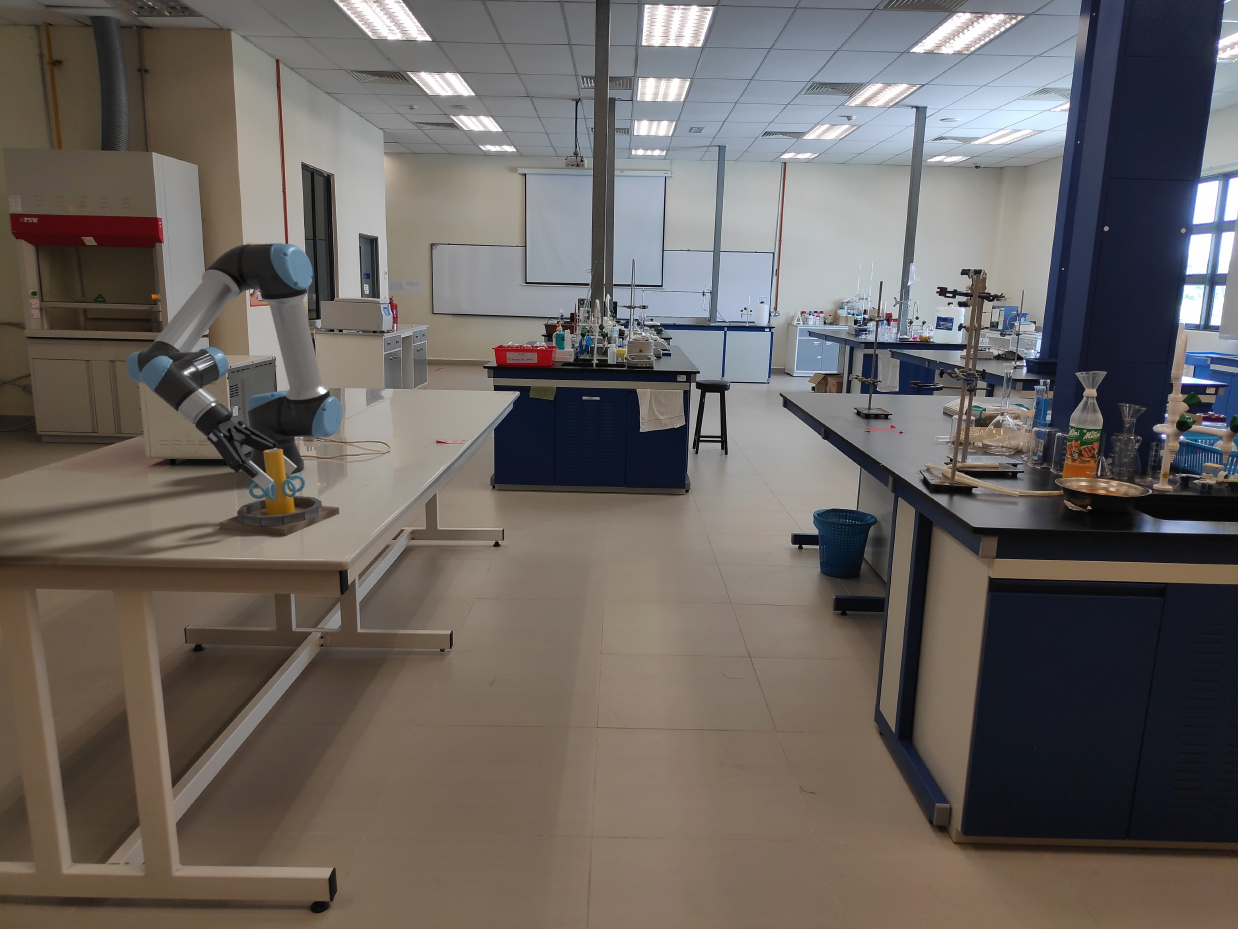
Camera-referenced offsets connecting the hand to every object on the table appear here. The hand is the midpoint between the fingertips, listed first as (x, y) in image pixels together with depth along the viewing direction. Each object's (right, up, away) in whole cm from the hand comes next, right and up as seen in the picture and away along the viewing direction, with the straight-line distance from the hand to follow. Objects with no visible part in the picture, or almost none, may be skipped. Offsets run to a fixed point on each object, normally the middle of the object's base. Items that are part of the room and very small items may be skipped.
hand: (281, 478), depth 179 cm
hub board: (-1, -10, +2) cm, 10 cm away
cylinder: (-1, -9, +2) cm, 9 cm away
